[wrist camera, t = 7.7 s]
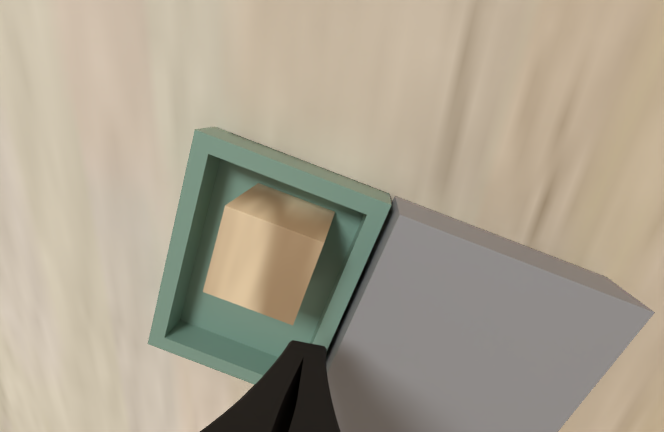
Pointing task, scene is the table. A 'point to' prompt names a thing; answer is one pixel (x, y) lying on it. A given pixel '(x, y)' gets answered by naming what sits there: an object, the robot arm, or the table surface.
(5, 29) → the table surface
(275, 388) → the robot arm
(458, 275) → the slate plate
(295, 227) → the maple block
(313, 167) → the box
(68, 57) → the table surface
